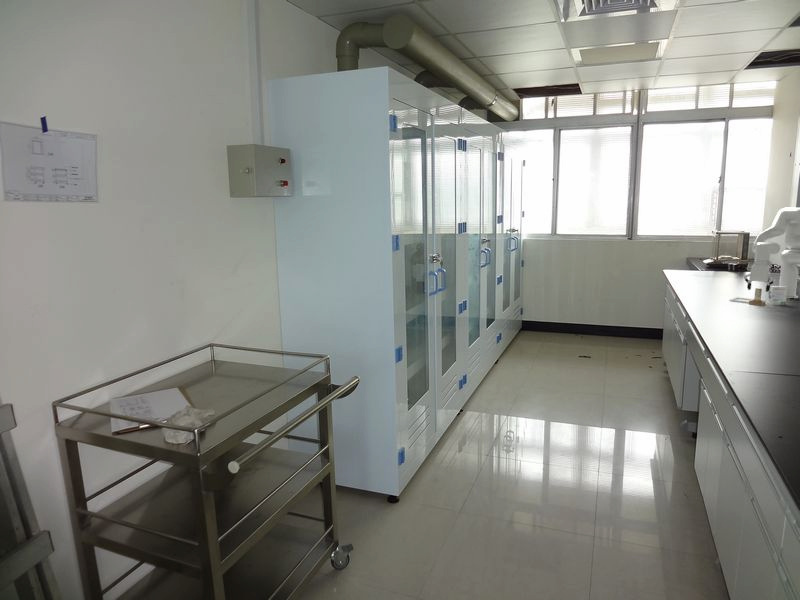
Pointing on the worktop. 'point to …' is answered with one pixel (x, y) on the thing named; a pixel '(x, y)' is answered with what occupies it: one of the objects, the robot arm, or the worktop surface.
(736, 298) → the tray
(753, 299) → the shallow wooden box
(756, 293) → the dowel
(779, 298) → the ink box
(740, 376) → the worktop surface
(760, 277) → the robot arm
